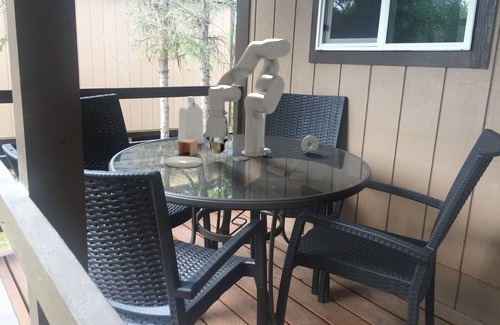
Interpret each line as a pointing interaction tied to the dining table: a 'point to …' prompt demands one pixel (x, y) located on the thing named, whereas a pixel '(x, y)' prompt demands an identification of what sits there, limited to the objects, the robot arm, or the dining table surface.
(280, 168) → the dining table surface
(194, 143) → the cover
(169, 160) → the plate
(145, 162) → the dining table surface
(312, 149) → the donut
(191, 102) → the milk
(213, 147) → the block
